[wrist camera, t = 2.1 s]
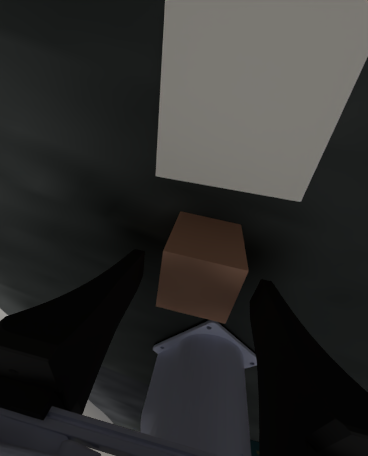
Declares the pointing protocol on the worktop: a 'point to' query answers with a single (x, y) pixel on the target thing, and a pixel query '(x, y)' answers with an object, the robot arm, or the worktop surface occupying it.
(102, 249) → the worktop surface
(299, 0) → the tower top
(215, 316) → the terracotta cube
